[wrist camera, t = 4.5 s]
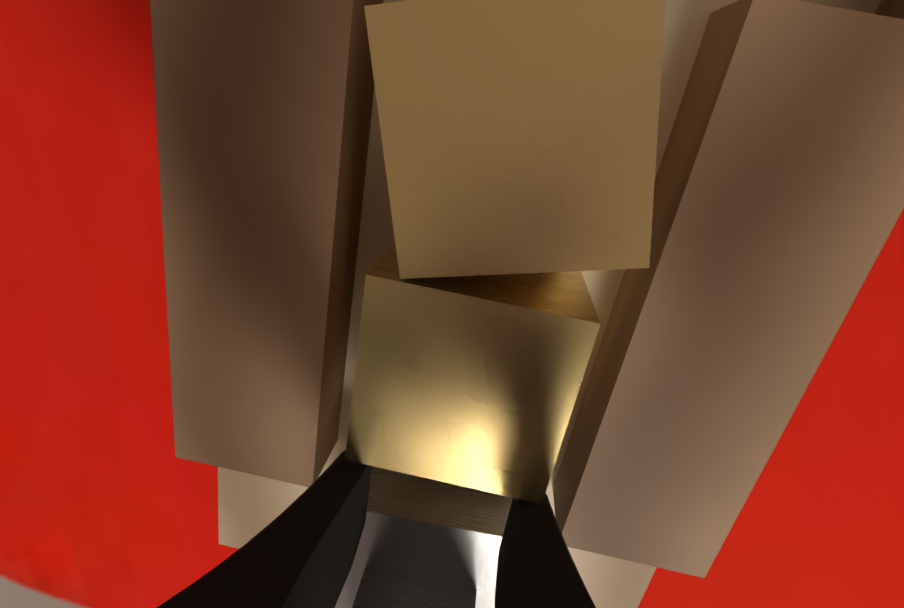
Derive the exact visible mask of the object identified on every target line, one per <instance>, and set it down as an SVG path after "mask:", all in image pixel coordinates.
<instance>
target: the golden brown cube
mask: <svg viewBox="0 0 904 608" xmlns="http://www.w3.org/2000/svg"><path fill="white" fill-rule="evenodd" d="M665 5H666V0H407V1H399V2H391V3H383V4H375V5H367V6H364V9H365V17H366V24H367V32H368V39H369V47H370V55H371V62H372V70H373V77H374V85H375V93H376V100H377V108H378V115H379V123H380V131H381V138H382V146H383V153H384V161H385V169H386V176H387V184H388V191H389V199H390V207H391V214H392V222H393V229H394V237H395V245H396V252H397V260H398V267H399V275H400V279H408V278H431V277H454V276H477V275H500V274H523V273H546V272H569V271H592V270H615V269H639V268H649V263H650V247H651V231H652V215H653V199H654V183H655V167H656V150H657V134H658V118H659V102H660V86H661V70H662V54H663V37H664V21H665Z"/></svg>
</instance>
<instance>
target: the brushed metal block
mask: <svg viewBox="0 0 904 608" xmlns="http://www.w3.org/2000/svg"><path fill="white" fill-rule="evenodd" d="M512 499H513V498H512V497H507V496H503V495H498V494H494V493H490V492H485V491H481V490H476V489H472V488H467V487H463V486H459V485H454V484H450V483H445V482H441V481H436V480H432V479H428V478H423V477H419V476H414V475H410V474H406V473H401V472H397V471H392V470H388V469H383V468H379V467H375V466H372V469H371V478H370V487H369V495H368V504H367V513H366V521H365V525H364V529H363V532H362V535H361V539H360V542H359V545H358V548H357V552H356V555H355V558H354V561H353V564H352V567H351V570H350V572H349V575H348V577H347V579H346V582H345V584H344V587H343V589H342V591H341V594H340V596H339V598H338V601H337V603H336V606H335V608H495V589H496V576H497V565H498V553H499V548H500V544H501V541H502V537H503V533H504V529H505V525H506V522H507V518H508V514H509V510H510V507H511V503H512Z"/></svg>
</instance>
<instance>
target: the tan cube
mask: <svg viewBox="0 0 904 608" xmlns="http://www.w3.org/2000/svg"><path fill="white" fill-rule="evenodd" d="M600 324H601V323H600V321H599V318H598V315H597V313H596V310H595V307H594V304H593V302H592V299H591V296H590V294H589V291H588V288H587V286H586V283H585V280H584V278H583V275H582V272H581V271H569V272H546V273H523V274H500V275H477V276H454V277H431V278H408V279H400V275H399V267H398V260H397V252H396V245H395V241H394V242H393V244H392V245H391V246H390V247H389V248H388V249H387V250H386V252H385V253H384V254H383V255H382V256H381V257H380V259H379V260H378V261H377V262H376V263H375V264H374V266H373V267H372V268H371V269H370V270H369V271H368V273H367V274H366V277H365V286H364V295H363V304H362V313H361V321H360V330H359V339H358V348H357V356H356V365H355V374H354V383H353V392H352V400H351V409H350V418H349V427H348V436H347V444H346V453H345V460H348V461H352V462H357V463H361V464H366V465H370V466H375V467H379V468H383V469H388V470H392V471H397V472H401V473H406V474H410V475H414V476H419V477H423V478H428V479H432V480H436V481H441V482H445V483H450V484H454V485H459V486H463V487H467V488H472V489H476V490H481V491H485V492H490V493H494V494H498V495H503V496H507V497H512V498H516V499H521V500H525V501H529V502H534V503H538V504H542V502H543V499H544V496H545V493H546V490H547V487H548V484H549V481H550V478H551V474H552V471H553V468H554V465H555V462H556V459H557V456H558V453H559V450H560V447H561V444H562V441H563V438H564V435H565V432H566V428H567V425H568V422H569V419H570V416H571V413H572V410H573V407H574V404H575V401H576V398H577V395H578V392H579V389H580V386H581V382H582V379H583V376H584V373H585V370H586V367H587V364H588V361H589V358H590V355H591V352H592V349H593V346H594V343H595V340H596V336H597V333H598V330H599V327H600Z"/></svg>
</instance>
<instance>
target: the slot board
mask: <svg viewBox="0 0 904 608" xmlns="http://www.w3.org/2000/svg"><path fill="white" fill-rule="evenodd" d="M399 1H407V0H150V11H151V29H152V46H153V64H154V82H155V100H156V118H157V136H158V153H159V171H160V189H161V207H162V225H163V243H164V260H165V278H166V296H167V314H168V332H169V350H170V368H171V385H172V403H173V421H174V439H175V457H178V458H183V459H187V460H191V461H196V462H200V463H204V464H209V465H213V466H217V467H218V514H219V544H222V545H226V546H230V547H234V548H239V549H240V548H241V547H242V546H244V545H245V544H246V543H247V542H248V541H250V540H251V539H252V538H253V537H254V536H256V535H257V534H258V533H259V532H260V531H261V530H263V529H264V528H265V527H266V526H267V525H268V524H270V523H271V522H272V521H273V520H274V519H276V518H277V517H278V516H279V515H280V514H281V513H282V512H283V511H284V510H285V509H286V508H288V507H289V506H290V505H291V504H292V503H293V502H294V501H295V500H296V499H297V498H298V497H299V496H300V495H301V494H302V493H303V492H304V491H306V490H307V489H308V488H309V487H310V486H311V485H312V484H313V483H314V482H315V481H316V480H317V478H318V477H319V476H320V475H321V474H322V473H323V472H324V471H325V470H326V469H327V468H328V467H329V466H330V465H331V464H332V463H333V461H334V460H335V459H336V458H337V457H338V456H339V455H340V454H341V452H343V451H345V450H346V444H347V436H348V427H349V418H350V409H351V400H352V392H353V383H354V374H355V365H356V356H357V348H358V339H359V330H360V321H361V313H362V304H363V295H364V286H365V277H366V274H367V273H368V271H369V270H370V269H371V268H372V267H373V266H374V264H375V263H376V262H377V261H378V260H379V259H380V257H381V256H382V255H383V254H384V253H385V252H386V250H387V249H388V248H389V247H390V246H391V245H392V244H393V242H394V241H395V237H394V229H393V222H392V214H391V207H390V199H389V191H388V184H387V176H386V169H385V161H384V153H383V146H382V138H381V131H380V123H379V115H378V108H377V100H376V93H375V85H374V77H373V70H372V62H371V55H370V47H369V39H368V32H367V24H366V17H365V9H364V6H367V5H375V4H383V3H391V2H399ZM903 208H904V0H666V5H665V21H664V37H663V54H662V70H661V86H660V102H659V118H658V134H657V150H656V167H655V183H654V199H653V215H652V231H651V247H650V263H649V268H639V269H615V270H592V271H581V272H582V275H583V278H584V280H585V283H586V286H587V288H588V291H589V294H590V296H591V299H592V302H593V304H594V307H595V310H596V313H597V315H598V318H599V321H600V323H601V324H600V327H599V330H598V333H597V336H596V340H595V343H594V346H593V349H592V352H591V355H590V358H589V361H588V364H587V367H586V370H585V373H584V376H583V379H582V382H581V386H580V389H579V392H578V395H577V398H576V401H575V404H574V407H573V410H572V413H571V416H570V419H569V422H568V425H567V428H566V432H565V435H564V438H563V441H562V444H561V447H560V450H559V453H558V456H557V459H556V462H555V465H554V468H553V471H552V474H551V478H550V481H549V484H548V487H547V490H546V494H547V496H548V499H549V502H550V504H551V507H552V510H553V513H554V515H555V518H556V521H557V523H558V526H559V528H560V531H561V533H562V536H563V538H564V540H565V543H566V545H567V548H568V550H569V552H570V554H571V557H572V559H573V561H574V563H575V565H576V567H577V570H578V572H579V574H580V576H581V578H582V580H583V582H584V584H585V587H586V589H587V591H588V593H589V595H590V597H591V599H592V601H593V603H594V604H595V606H596V608H637V607H638V605H639V603H640V601H641V599H642V597H643V595H644V593H645V591H646V589H647V586H648V584H649V582H650V580H651V578H652V576H653V574H654V572H655V570H656V568H657V567H658V568H662V569H667V570H671V571H675V572H680V573H684V574H689V575H693V576H697V577H702V578H705V576H706V574H707V572H708V570H709V569H710V567H711V565H712V563H713V561H714V559H715V557H716V556H717V554H718V552H719V550H720V548H721V546H722V544H723V543H724V541H725V539H726V537H727V535H728V533H729V531H730V530H731V528H732V526H733V524H734V522H735V520H736V518H737V517H738V515H739V513H740V511H741V509H742V507H743V505H744V504H745V502H746V500H747V498H748V496H749V494H750V492H751V491H752V489H753V487H754V485H755V483H756V481H757V479H758V478H759V476H760V474H761V472H762V470H763V468H764V466H765V465H766V463H767V461H768V459H769V457H770V455H771V453H772V452H773V450H774V448H775V446H776V444H777V442H778V440H779V439H780V437H781V435H782V433H783V431H784V429H785V427H786V426H787V424H788V422H789V420H790V418H791V416H792V414H793V413H794V411H795V409H796V407H797V405H798V403H799V401H800V400H801V398H802V396H803V394H804V392H805V390H806V388H807V387H808V385H809V383H810V381H811V379H812V377H813V375H814V374H815V372H816V370H817V368H818V366H819V364H820V362H821V361H822V359H823V357H824V355H825V353H826V351H827V349H828V348H829V346H830V344H831V342H832V340H833V338H834V336H835V335H836V333H837V331H838V329H839V327H840V325H841V323H842V322H843V320H844V318H845V316H846V314H847V312H848V310H849V309H850V307H851V305H852V303H853V301H854V299H855V297H856V296H857V294H858V292H859V290H860V288H861V286H862V284H863V283H864V281H865V279H866V277H867V275H868V273H869V271H870V270H871V268H872V266H873V264H874V262H875V260H876V258H877V257H878V255H879V253H880V251H881V249H882V247H883V245H884V244H885V242H886V240H887V238H888V236H889V234H890V232H891V231H892V229H893V227H894V225H895V223H896V221H897V219H898V218H899V216H900V214H901V212H902V210H903Z"/></svg>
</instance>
